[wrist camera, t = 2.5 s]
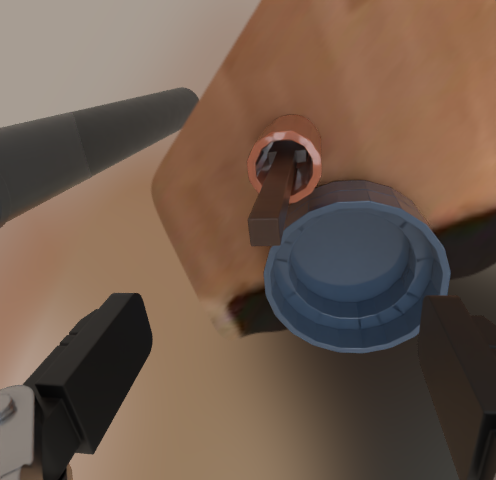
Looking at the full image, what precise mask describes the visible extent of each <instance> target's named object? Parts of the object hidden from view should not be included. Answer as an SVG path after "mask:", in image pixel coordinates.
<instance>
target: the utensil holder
mask: <svg viewBox="0 0 496 480" xmlns="http://www.w3.org/2000/svg"><path fill="white" fill-rule="evenodd" d="M279 141H294V142H296V143H298V144H300V145H302V146H304V147H305V149H306V150H307V152H308V156H307V162H301V163H297V166H296V171H295V176H294V181H293V185H292V190H291V195H290V200H289V203H295V202H298V201H300V200H301V199H303V198H305V197H306V196H308V195H310V194H311V193H312V192H313V190H314V189H315V187H316V185H317V183H318V182H319V180H320V178H321V176H322V173H321V136H320V134H319V132H318V130H317V128H316V127H315V125H314V124H313V123H312V122H311V121H309V120H308V119H306V118H305V117H302V116H299V115H285V116H281V117H279V118H278V119H276V120H274V121H273V122H272V123H271V124H270V125H268V126H267V128H266V129H265V130H264V132H263V133H262V134H261V136H260V137H259V139H258V140H257V141H256V143H255V144H254V146H253V148H252V151H251V153H250V155H249V157H248V160H247V167H248V177H249V181H250V182H251V184H252V185H253V187H254V188H255V189H256V191H257V192H258V194H259V192H260V190H261V188H262V186H263V183H264V181H265V179H266V176H267V174H268V172H269V169H270V167H271V165H272V164H269V157H268V152H269V150H270V148H271V146H272V144H273V142H279Z"/></svg>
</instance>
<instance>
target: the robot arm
mask: <svg viewBox="0 0 496 480" xmlns="http://www.w3.org/2000/svg"><path fill="white" fill-rule="evenodd" d="M151 348H152V332H151V328H150V324H149V321H148V317H147V313H146V310H145V306H144V302H143V299H142V297H141V295H140V294H138V293H113V294H111V295H110V296H109V298H108V299H107V300H106V301H105V302H104V303H103V305H102V306H101V307H100V308H99V309H96V310H94V311H93V312H91V313H90V314H89V315H87V316H86V317H84V318H83V319H81V320H80V321H79V322H78V323H77V324H76V326H75V327H74V328H73V329H72V330H71V331H70V332H69V335H67V336H66V337H65V338H64V339H63V340H62V341H61V342H60V346H57V347H56V348H55V349H54V350H53V351H52V352H51V354H50V355H49V356H48V357H47V358H46V359H45V360H44V361H43V362H42V364H41V365H40V366H39V367H38V368H37V369H36V371H34V373H33V374H32V375H31V376H30V377H29V378H28V379H27V380H26V382H25V383H24V384H23V385H15V386H11V387H7V388H4V389H1V390H0V480H73V478H72V469H71V467H70V465H69V462H70V460H71V459H72V457H73V455H74V453H84V454H94V453H95V451H96V449H97V447H98V445H99V444H100V442H101V440H102V438H103V436H104V435H105V433H106V431H107V429H108V428H109V426H110V424H111V422H112V420H113V418H114V416H115V415H116V413H117V411H118V410H119V408H120V406H121V404H122V402H123V401H124V399H125V397H126V395H127V393H128V392H129V390H130V388H131V386H132V384H133V383H134V381H135V379H136V377H137V376H138V374H139V372H140V370H141V368H142V367H143V365H144V363H145V361H146V359H147V357H148V356H149V354H150V351H151ZM418 355H419V360H420V365H421V368H422V371H423V374H424V377H425V380H426V383H427V385H428V389H429V392H430V395H431V397H432V401H433V403H434V406H435V409H436V412H437V415H438V418H439V421H440V424H441V427H442V430H443V432H444V436H445V439H446V442H447V444H448V447H449V450H450V453H451V456H452V459H453V462H454V465H455V467H456V471H457V474H458V477H459V479H460V480H496V325H494V324H493V323H492V322H490V321H489V320H488V319H486V318H485V317H484V316H470V314H469V312H468V311H467V309H466V307H465V306H464V304H463V302H462V301H461V299H460V298H459V297H458V296H454V295H452V296H449V295H426V296H425V297H424V299H423V304H422V312H421V320H420V329H419V337H418Z"/></svg>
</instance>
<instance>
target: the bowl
mask: <svg viewBox="0 0 496 480" xmlns="http://www.w3.org/2000/svg"><path fill="white" fill-rule="evenodd" d="M450 274H451V271H450V267H449V264H448V260H447V256H446V252H445V248H444V246H443V245H442V243H441V242H440V240H439V239H438V237H437V236H436V234H435V233H434V231H433V230H432V228H431V226H430V225H429V223H428V222H427V220H426V219H425V218H424V216H423V215H422V214H421V212H420V211H419V210H418V208H417V207H416V206H415V204H414V203H413V202H412V201H411V200H410V199H408V198H406V197H405V196H403V195H402V194H400V193H399V192H397V191H396V190H394V189H392V188H391V187H388V186H384V185H380V184H376V183H373V182H369V181H365V180H353V181H336V182H332V183H329V184H326V185H324V186H321V187H318V188H315V189H314V190H313V192H312V193H311V194H310V195H308V196H306V197H305V198H303V199H301V200H300V201H298V202H295V203H292V204H291V205H290V206H289V207H288V210H287V215H286V220H285V225H284V230H283V235H282V240H281V245H280V246H270V249H269V253H268V257H267V261H266V265H265V269H264V283H265V293H266V297H267V299H268V301H269V303H270V305H271V307H272V309H273V311H274V313H275V316H276V317H277V318H278V319H279V320H280V321H281V322H282V323H283V324H284V325H285V326H286V327H287V328H288V329H289V330H290V331H291V332H292V333H293V334H295V335H296V336H298V337H300V338H301V339H303V340H305V341H307V342H308V343H310V344H312V345H314V346H318V347H322V348H325V349H328V350H332V351H336V352H345V353H368V352H372V351H378V350H383V349H388V348H392V347H394V346H396V345H398V344H400V343H402V342H404V341H406V340H409V339H411V338H413V337H414V336H416V335H417V334H418V333H419V329H420V320H421V312H422V304H423V299H424V297H425V296H426V295H447V293H448V287H449V280H450Z"/></svg>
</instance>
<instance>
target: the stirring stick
mask: <svg viewBox="0 0 496 480" xmlns="http://www.w3.org/2000/svg"><path fill="white" fill-rule="evenodd" d="M307 156H308V152H307V150H306V149H305V147H304V146H302V145H300V144H298V143H296V142H294V141H279V142H273V144H272V146H271V148H270V150H269V152H268V157H269V164H272V165H271V167H270V169H269V172H268V174H267V176H266V179H265V181H264V183H263V186H262V188H261V190H260V192H259V195H258V197H257V199H256V202H255V204H254V206H253V209H252V211H251V213H250V216H249V218H248V226H249V235H250V244H251V246H280V245H281V240H282V235H283V230H284V225H285V220H286V215H287V210H288V205H289V200H290V195H291V190H292V185H293V181H294V176H295V171H296V166H297V163H301V162H307Z"/></svg>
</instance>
